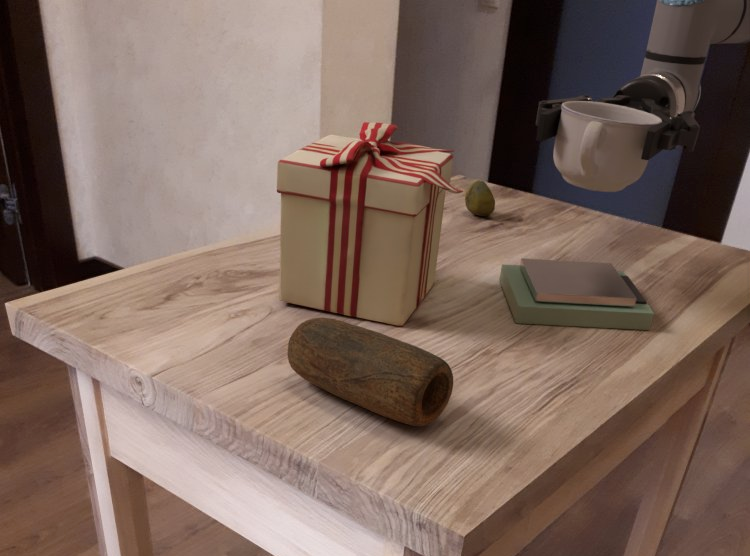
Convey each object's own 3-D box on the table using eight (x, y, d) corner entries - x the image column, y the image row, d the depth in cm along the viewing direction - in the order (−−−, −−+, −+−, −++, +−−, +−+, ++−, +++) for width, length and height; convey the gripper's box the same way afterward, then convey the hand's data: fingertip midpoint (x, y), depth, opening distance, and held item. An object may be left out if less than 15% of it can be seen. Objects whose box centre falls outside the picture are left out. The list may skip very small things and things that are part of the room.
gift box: (441, 334, 83) (461, 161, 73) (273, 309, 86) (271, 139, 76) (462, 279, 97) (482, 126, 87) (317, 258, 100) (320, 108, 90)
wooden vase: (458, 414, 70) (468, 344, 66) (415, 446, 65) (423, 373, 61) (324, 362, 77) (326, 296, 73) (276, 388, 72) (275, 318, 68)
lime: (467, 209, 121) (471, 175, 118) (498, 214, 120) (503, 180, 117) (458, 216, 118) (462, 181, 115) (489, 222, 117) (494, 187, 114)
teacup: (573, 168, 97) (586, 95, 92) (658, 186, 92) (678, 110, 87) (518, 189, 87) (530, 109, 83) (610, 211, 82) (628, 127, 78)
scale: (619, 286, 98) (624, 268, 97) (650, 330, 88) (655, 310, 86) (499, 280, 98) (502, 261, 96) (515, 323, 87) (519, 303, 86)
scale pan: (609, 271, 96) (611, 263, 95) (634, 307, 87) (637, 298, 86) (519, 266, 95) (521, 258, 95) (535, 301, 87) (537, 292, 86)
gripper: (732, 156, 97) (695, 194, 81) (551, 126, 105) (486, 155, 90) (753, 88, 92) (718, 114, 76) (562, 62, 101) (495, 81, 85)
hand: (593, 136), depth 83 cm, fingers closed on teacup, 11 cm apart
